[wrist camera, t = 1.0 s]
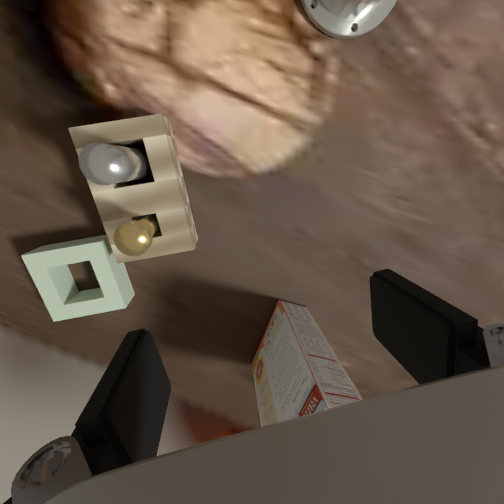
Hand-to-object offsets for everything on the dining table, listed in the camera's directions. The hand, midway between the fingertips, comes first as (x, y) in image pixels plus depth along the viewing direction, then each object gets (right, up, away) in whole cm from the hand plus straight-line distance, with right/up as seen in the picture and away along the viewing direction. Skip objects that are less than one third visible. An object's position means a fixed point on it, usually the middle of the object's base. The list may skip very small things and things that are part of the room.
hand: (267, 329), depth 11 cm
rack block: (-25, 0, +28) cm, 37 cm away
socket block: (-15, +12, +25) cm, 31 cm away
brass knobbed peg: (-14, +7, +23) cm, 28 cm away
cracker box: (+4, -12, +35) cm, 37 cm away
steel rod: (-15, +15, +23) cm, 32 cm away
